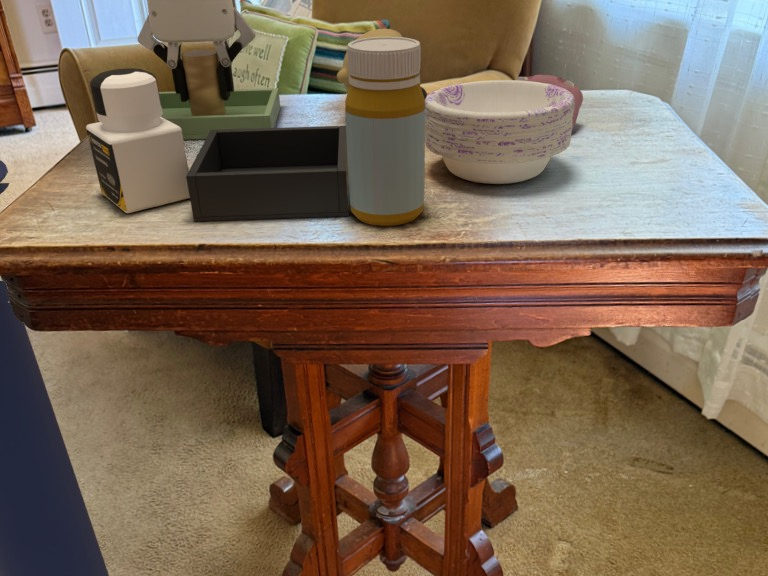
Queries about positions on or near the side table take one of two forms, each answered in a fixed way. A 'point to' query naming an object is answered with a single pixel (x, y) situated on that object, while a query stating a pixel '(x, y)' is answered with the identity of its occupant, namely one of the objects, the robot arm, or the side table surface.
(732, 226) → the side table surface
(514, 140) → the paper bowls
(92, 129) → the medicine bottle
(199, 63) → the brown wooden cylinder
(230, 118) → the tray
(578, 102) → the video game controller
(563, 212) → the side table surface
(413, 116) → the bottle
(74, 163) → the side table surface
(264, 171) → the bin
